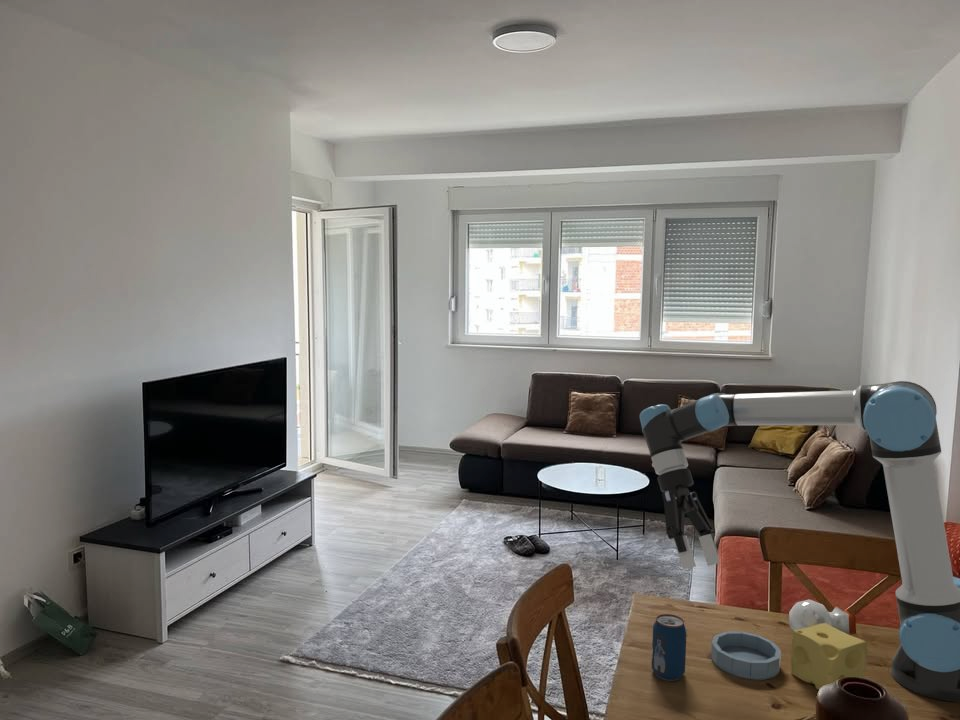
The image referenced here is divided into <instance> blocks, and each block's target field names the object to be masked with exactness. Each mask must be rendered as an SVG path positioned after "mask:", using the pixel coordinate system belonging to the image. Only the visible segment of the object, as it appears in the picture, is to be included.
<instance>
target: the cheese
mask: <svg viewBox="0 0 960 720" xmlns="http://www.w3.org/2000/svg"><path fill="white" fill-rule="evenodd" d="M791 639H792V640H791V656H790V659H791V660H790V661H791V662H790V667H791V668H790V670H791V671H790V672H791V673H790V674H792V675H793V676H795V677H796V678H798V679H800V680H802V681H803V682H805V683H808V684H813V685H814V687H815V689H817V690H818V689H819V688H820V687H822V686H823V685H826V684H830V683H833V682H835V681H836V680H838V679H840V678H843V677H860V678H863V679H864V675H865V671H866V666H867V659H868V658H867V656H868V655H867V654H868V653H867V650H868V649H867V642H866V641H865V640H863V639H862V638H858V637H856V636H853V635H849V634H846V633H844V632H842V631H840V630H838V629H836V628H834V627H832V626H830V625H828V624H826V623H823V624H818V625H815V626H812V627H808V628H804V629H799V630H794V631H793V630H792V638H791Z"/></svg>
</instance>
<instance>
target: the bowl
mask: <svg viewBox="0 0 960 720" xmlns="http://www.w3.org/2000/svg"><path fill="white" fill-rule="evenodd" d="M710 649H711V650H710V651H711V653H710V656H711V661H712V663H713V664H714V665H715V666H716V667H717V668H718V669H720V670H722V671H723V672H725V673H727V674H729V675H731V676H733V677H737V678H741V679H746V680H752V681H763V680H764V681H765V680H769V679H773V678H775V677H777V676H778V674H779V673H780V668H781V661H782V660H781V659H782V657H781V656H782V650H781V648H780V647H778V645H777V644H776V643H775V642H773V641H772V640H770V639H768V638H766V637H763V636H761V635H759V634H754V633H751V632H747V631H741V630H739V631H737V630H736V631H735V630H734V631H733V630H732V631H723V632H721V633H718V634H715V635H714V636H713V638H712V641H711V648H710Z"/></svg>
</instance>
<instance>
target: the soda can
mask: <svg viewBox="0 0 960 720" xmlns="http://www.w3.org/2000/svg"><path fill="white" fill-rule="evenodd" d="M652 625H653V626H652V645H651V669H652V671H653V673H654V675H655V676H656V677H658V678H659V679H660V680H663V681H668V682H675V680H676V681H679V680H680V679H682V677H683V675H684V674H685V672H686V656H687V655H686V653H687V633H688V632H687V630H688V629H687V628H686V625H685V621H684V619H683V618H682V617H680V616H677V615H676V614H671V613H670V614H669V613H668V614H667V613H665V614H664V613H663V614H659V615H657V616H656V617H655V622H654V623H653V624H652Z"/></svg>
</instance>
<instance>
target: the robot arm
mask: <svg viewBox="0 0 960 720" xmlns="http://www.w3.org/2000/svg"><path fill="white" fill-rule="evenodd" d="M936 404H937V403H936V401H935V399H934V396H932V393H930V391H929V390H928V389H926V388H925V387H924V386H922V385H921V384H919V383H918V384H917V383H915V382H911V381H907V380H906V381H904V380H901V381H900V380H898V381H891V382H886V383H879V384H867V385H866V384H863V385H862V384H861V385H859V386H858V387H856V389H854V390H848V389H847V390H824V391H819V390H818V391H791V392H786V391H785V392H760V393H759V392H758V393H752V392H751V393H735V394H733V393H728V394H727V393H725V392H724V393H723V392H717V393H715V392H714V393H711V394H709V395H707V396H703V397H701V398H699V399H696V400H694V401H691V402H689V403H687V404H684V405H681V406H679V407H677V408H673V409H671V407H670V406H669V405H668V404H663V403H662V404H657V405H653V406H649V407H647V408H645V409H643V410H642V411H641V412H640V413H639V422H640V425H641V429H642V430H641V431H642V434H643V436H644V439H645V442H646V445H647V448H648V451H649V454H650V458H651V461H652V463H651V467H652V468H653V469H654V471H655V472H654V473H655V474H656V475H658V476H657V478H656V479H657V482H658V485H659V488H660V491H661V492H662V493H661V496H662V501H663V507H664V509H663V510H664V519H665V520H664V521H665V530H666V535H667V539H670V540H672V539H673V541H674V544H675V547H676V550H677V551H676V552H677V554H678V557H679V561H680V564H681V568H682V570H687V569H691V568H694V567H695V568H696V562H695V559H694V555H693V552H692V548H691V545H690V542H689V540H688V536H687V535H684V534H685V517H686V516H687V518H688V519H689V521H690V522H691V524H692V525H693V527H694V528H695V530H696V531H697V533H698V534H699V536H698V539H699V543H700V545H701V548H702V549H701V550H702V552H703V555H704V558H705V562H706V565H707V566H714V565H717V564H721V561H720V557H719V555H718V552H717V550H716V549H717V548H716V546H715V543H714V539H713V537H712V534H715V530H714V527H713V525H712V523H711V521H710V519H709V517H708V515H707V514H706V512H705V509H704V508H703V505H702V504H701V502H700V500H699V497H698V494H697V492H696V491H692V492H690V489H689V487H692V486H693V485H694V483H695V481H694V480H693V476H692V472H691V470H690V469H689V468H688V466H689V463H688V459H687V457H686V454H685V450H684V448H683V446H682V442H684V441H687V440H690V439H692V438H695V437H698V436H702V435H704V434H707V433H710V432H714V431H717V430H719V429H720V428H722V427H734V426H735V427H736V426H737V427H738V426H857V427H858V428H860V429H861V430H863V431H865V432H866V433H867V435H868V436H869V441H870V447H871V454H872V457H873V459H875V460H876V461H878V462H879V463H881V464H882V467H883V474H884V480H885V487H886V491H887V497H888V505H889V510H890V516H891V522H892V527H893V533H894V540H895V545H896V546H895V547H896V551H897V558H898V559H897V560H898V563H899V570H900V571H899V572H900V577H901V582H902V583H901V585H899V587H898V588H897V589H896V590H895V598H896V605H897V611H898V617H899V623H900V627H899V629H898V630H899V631H898V639H899V642H900V645H899V647H898V648H897V650H896V652H895V654H894V655H893V658H892V661H891V666H890V667H891V669H890V674H891V675H892V678H894V680H895V681H896V682H897V683H898V684H900V685H902V687H904V688H906V689H908V690H910V691H912V692H914V693H916V694H919V695H921V696H924V697H926V698H931V699H935V700H940V701H944V700H945V702H953V703H955V702H957V703H958V702H960V578H959V577H956V576H953V569H952V562H951V558H950V557H951V556H950V552H949V546H948V545H949V544H948V540H947V533H946V528H945V527H946V526H945V523H944V516H943V510H942V503H941V502H942V501H941V496H940V491H939V485H938V479H937V473H936V469H935V467H936V465H935V460H936V459H937V458H938V457H939V456H940V454H942V447H941V441H940V434H939V428H938V424H937V422H938V421H937V405H936Z"/></svg>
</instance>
